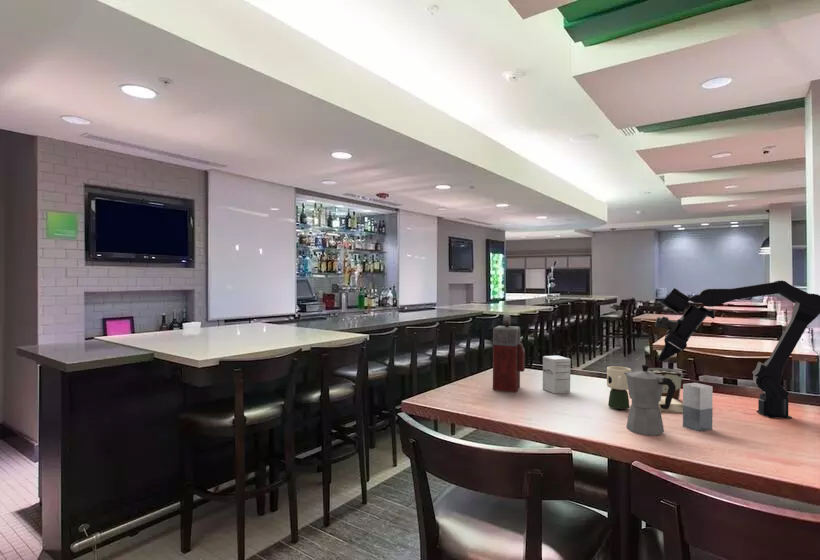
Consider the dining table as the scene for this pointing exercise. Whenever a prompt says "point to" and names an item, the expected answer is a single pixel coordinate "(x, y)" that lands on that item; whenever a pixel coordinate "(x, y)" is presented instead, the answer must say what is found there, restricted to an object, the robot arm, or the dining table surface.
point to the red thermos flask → (507, 357)
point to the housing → (697, 406)
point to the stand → (671, 405)
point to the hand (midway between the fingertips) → (660, 358)
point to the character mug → (618, 387)
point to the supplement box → (556, 374)
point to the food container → (673, 375)
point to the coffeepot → (647, 401)
